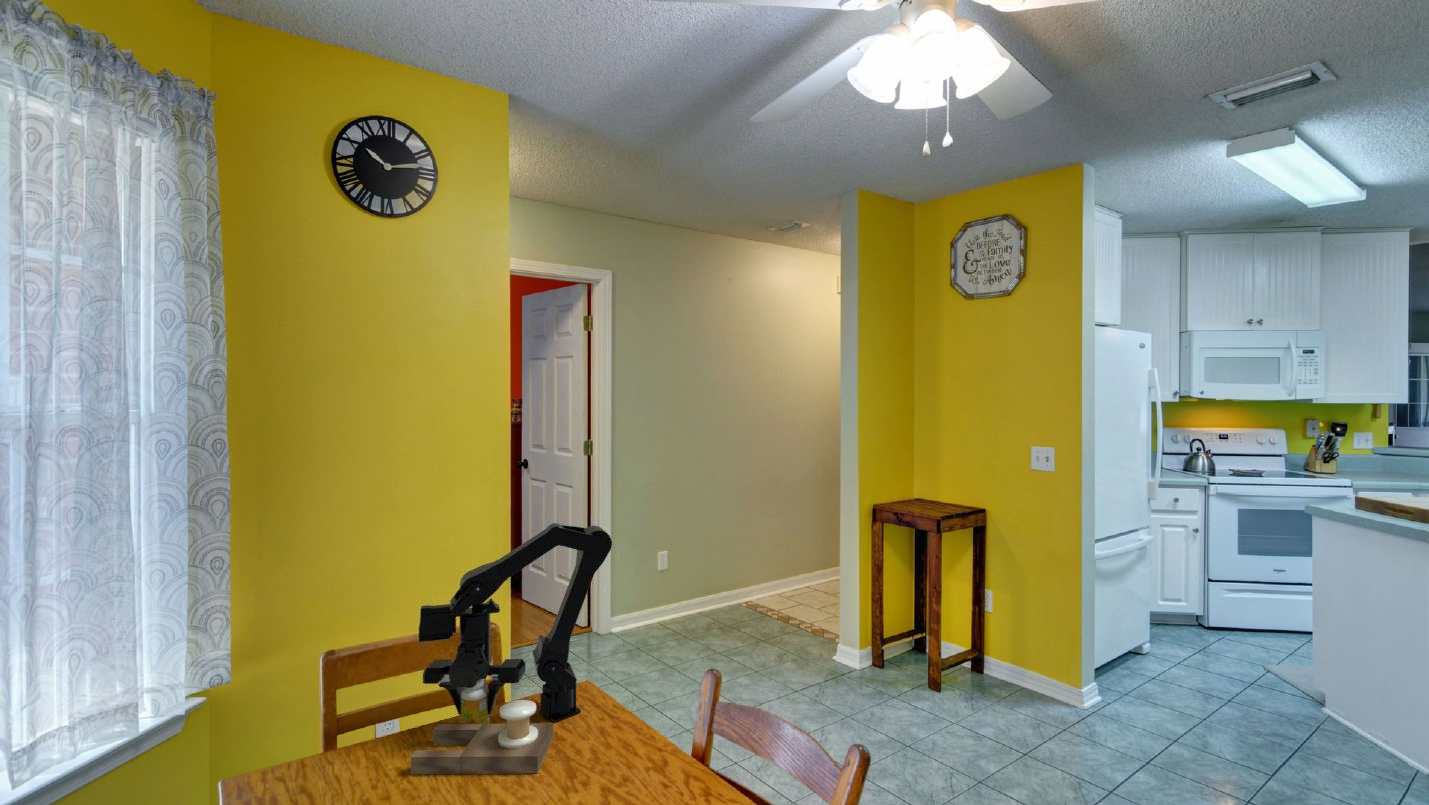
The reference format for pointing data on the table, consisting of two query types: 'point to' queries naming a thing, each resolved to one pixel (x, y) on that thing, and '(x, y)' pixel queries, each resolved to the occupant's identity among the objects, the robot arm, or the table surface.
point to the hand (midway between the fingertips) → (475, 713)
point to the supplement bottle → (475, 704)
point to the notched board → (480, 751)
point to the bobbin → (518, 725)
